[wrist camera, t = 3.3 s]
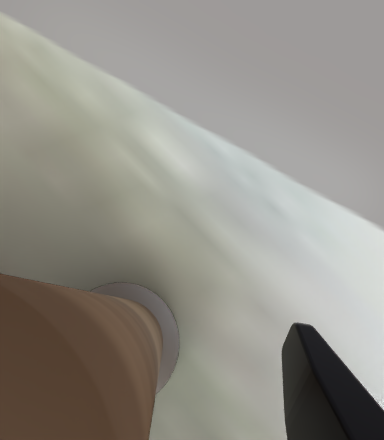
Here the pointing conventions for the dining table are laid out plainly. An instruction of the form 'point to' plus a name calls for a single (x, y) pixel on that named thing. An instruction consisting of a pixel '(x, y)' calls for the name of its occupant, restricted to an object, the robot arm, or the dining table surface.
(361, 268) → the dining table surface
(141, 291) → the cleaning tool
